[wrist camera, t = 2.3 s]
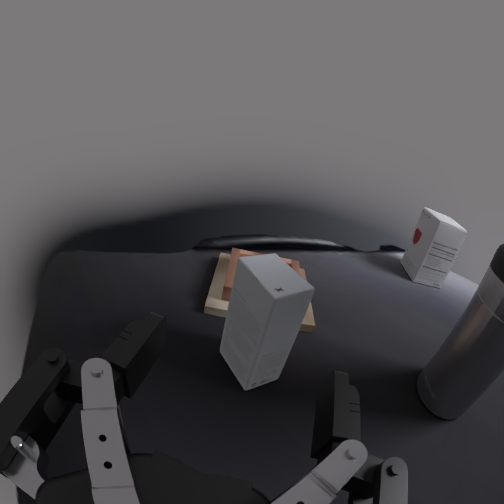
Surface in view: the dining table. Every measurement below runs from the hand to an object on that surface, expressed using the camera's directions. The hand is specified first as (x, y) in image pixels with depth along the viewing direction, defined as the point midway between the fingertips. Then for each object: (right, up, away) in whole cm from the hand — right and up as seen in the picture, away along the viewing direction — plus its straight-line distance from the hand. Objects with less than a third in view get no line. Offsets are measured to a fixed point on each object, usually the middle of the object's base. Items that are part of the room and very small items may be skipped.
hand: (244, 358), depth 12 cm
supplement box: (+39, -1, +46) cm, 61 cm away
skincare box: (0, -7, +16) cm, 18 cm away
